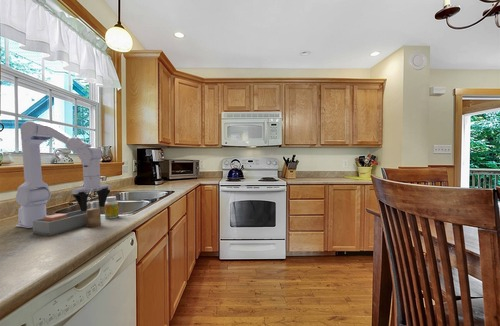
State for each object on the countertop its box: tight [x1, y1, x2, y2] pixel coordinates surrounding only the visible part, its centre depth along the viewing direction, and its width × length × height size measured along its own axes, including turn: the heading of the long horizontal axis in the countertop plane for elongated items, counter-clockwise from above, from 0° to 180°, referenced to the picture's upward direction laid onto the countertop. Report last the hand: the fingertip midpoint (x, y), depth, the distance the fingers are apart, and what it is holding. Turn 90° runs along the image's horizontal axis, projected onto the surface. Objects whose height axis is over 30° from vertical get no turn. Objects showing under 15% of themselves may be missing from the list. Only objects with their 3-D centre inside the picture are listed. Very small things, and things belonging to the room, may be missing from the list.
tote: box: [32, 209, 87, 237], centre depth 91 cm, size 9×18×5 cm, turn 161°
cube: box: [44, 213, 67, 222], centre depth 87 cm, size 5×5×5 cm
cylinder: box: [86, 207, 102, 229], centre depth 93 cm, size 5×5×7 cm
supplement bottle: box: [104, 195, 119, 220], centre depth 105 cm, size 5×5×10 cm
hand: (93, 208), depth 92 cm, fingers open, 7 cm apart
